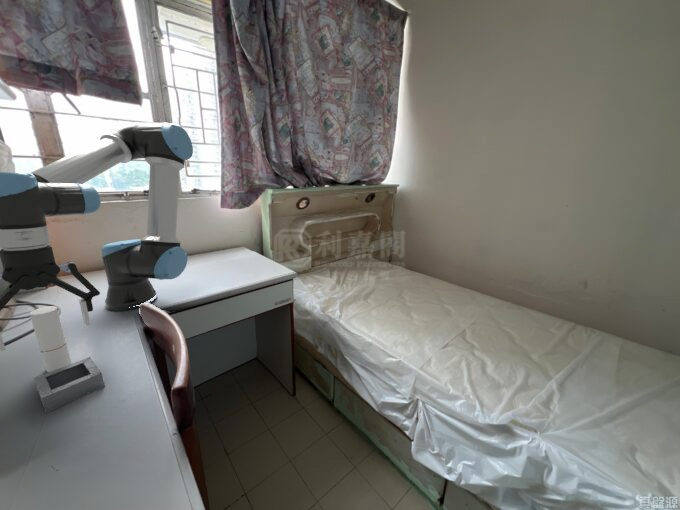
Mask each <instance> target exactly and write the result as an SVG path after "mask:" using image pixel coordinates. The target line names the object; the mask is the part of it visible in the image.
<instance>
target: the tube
mask: <svg viewBox="0 0 680 510" xmlns="http://www.w3.org/2000/svg"><path fill="white" fill-rule="evenodd" d="M59 313H60V312H59V310H58V306H53V305H52V306H51V305H50V306H43V307H40V308H36V309H34V310H31V311H30V312H29V317H30V321H31V324H32V326H33V327H32V328H33V330H34V334H35V336H36V340H37V344H38V347H39V350H40V354H41V359H42V361H43V364H44V368H45V371H46V373H48V372H51V371H54V370H56V369H59V368H62V367H64V366H67V365H70V364H72V359H71V355H70V352H69V351H70V350H69V347H68V344H67V341H66V336H65V333H64V329H63V325H62V322H61V317H60V314H59Z"/></svg>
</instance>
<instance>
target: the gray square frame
mask: <svg viewBox="0 0 680 510" xmlns="http://www.w3.org/2000/svg"><path fill="white" fill-rule="evenodd" d="M33 380H34V383H35V386H36V390H37V393H38V395H39V398H40V401H41V403H42V405H43V408H44V411H45V413H46V414H47V413H49V412H51V411H54V410H57V409H59V408H61V407H63V406H65V405H68V404H69V403H72V402H74V401H76V400H78V399H80V398H82V397H85V396H87V395H90V394H92V393H93V392H95V391H99V390H100V389H102V388H104V387H106V384H105V381H104V378H103V373H102V371H101V370H100V369H99V368H98V366H97V365H96V363H95V362H94V361H93V359H92V358H91V356H89V357H87V358H83V359H81V360H78V361H75V362H72V363H71V364H70V365H67V366H64V367H62V368H59V369H56V370H54V371H51V372H46V373H43V374H41V375H38V376H36V377H33Z"/></svg>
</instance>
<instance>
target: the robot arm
mask: <svg viewBox="0 0 680 510" xmlns="http://www.w3.org/2000/svg"><path fill="white" fill-rule="evenodd" d="M192 142H193V141H192V139H191V138H190V136H189V134H188V132H187V131H186V130H185V129H184V127H182V126H181V125H179V124H177V123H171V122H132V123H129V124H126V125H123V126H121V127H118V128H115V129H113V130H111V131H109V132H107V133H105V134H102V135H101V136H100V138H99V141H96V142H95V143H92V144H90V145H88V146H86V147H83V148H81V149H79V150H77V151H75V152H73V153H70V154H68V155H66V156H64V157H62V158H60V159H57V160H55V161H53V162H51V163H49V164H47V165H45V166H42V167H40V168H38V169H36V170H34V171H31V172H29V173H27V172H10V171H0V262H1V265H2V269H3V270H2V273H0V280H3V281H5V282H6V283H8V284H9V285H8V286H7V287H6V288H5V290H4V291H3V292H2V293H1V295H0V312H1V311H2V310H3V308H5V306H6V305H7V304H8V303H9V302H10V301H11V299H12V298H14V297H15V295H17V294H18V293H19V292H20V291H21V290H25V291H31V290H34V289H36V288H45V287H46V288H47V287H48V286H49V285H51V284H53V285H54V286H56V287H59V288H61V289H62V290H65V291H67V292H68V293H71V294H73V295H75V296H77V297H79V299H78V302H79V303H78V304H79V306H80V307H79V308H80V311H81V312H80V313H81V317H82V320H83V324H84V325H85V326H86V327H89V326H91V319H90V316H89V313H90V312H93V309H94V308H93V302H92V299H93V298H95V297H96V296H97V297H98V296H99V295H101V292H100V290H99V289H97V288H96V287H95V286H94V285H93V284H92V283H91V282H90V281H89V280H87V278H86V277H85V276H84V275H82V274H81V272H80V271H78V267H77V264H75V263H74V261H67V262H66V263H63V264H59V265H58V264H57V263H56V260H55V255H54V250H53V247H52V246H51V245H49V244H50V243H51V238H50V235H49V230H48V226H47V225H48V224H47V219H46V218H47V217H48V218H49V217H59V216H60V217H61V216H73V215H81V216H82V215H85V214H92V213H95V212H97V211H98V210H99V209H100V207H101V197H100V194H99V192H98V191H97V189H96V188H95V187H94V186H92V185H90V184H86V183H87V182H89V181H91V180H92V179H94V178H96V177H97V176H99V175H100V174H103V173H104V172H106V171H108V170H109V169H111V168H113V167H115V166H116V165H119V164H127V163H130V162H131V161H133V160H138V159H144V160H145V162H146V163H147V164H149V180H148V182H149V183H148V184H149V185H148V199H147V200H148V201H147V202H148V203H147V224H146V235H145V236H144V237H142V238H141V239H140V238H139V239H138V238H137V239H136V238H135V239H127V240H121V241H115V242H111V243H107V244H105V245H103V246H102V247H101V254H102V255H101V258H102V262H103V267H104V270H105V276H106V280H107V281H106V282H107V284H108V286H107V293H106V298H105V300H104V303H105V308H106V309H107V310H109V311H113V312H117V311H119V312H121V311H122V312H123V311H129V310H134V309H139V306H136V305H140V304H141V303H144V302H146V301H148V300H150V299H151V298H153V297H154V296H155V295H156V294H157V292H156V290H155V288H154V286H153V285H152V282H151V281H150V279H157V280H159V281H160V280H162V281H163V280H173V279H177V278H178V277H180V275H182V273H183V272H184V271H185V269H186V267H187V264H188V254H187V252H186V249H184V248H183V247H181V244H182V243H181V241H180V240H179V239H178V237H177V224H178V223H177V222H178V221H177V220H178V204H179V203H178V202H179V198H178V197H179V185H180V184H179V181H180V171H181V170H182V169H184V168H185V161H188V160H190V159H191V157H192V156H193V153H194V145H193V143H192ZM61 271H64V272H66V273H69V274H71V275H72V276H73V277H74V278H75V279H76V280H77V281H78V282H79V283H81V284H82V285H83V287H85V289H86V290H87V291H88V292H85V291H83V290H81V289H80V288H78V287H75V286H73V285H72V284H70V283H67V281H64V280H62V279H60V278H58V275H59V273H60V272H61ZM150 302H151V301H150ZM133 306H135V307H133ZM129 307H130V308H129ZM6 350H7V349H6V346H5V343H4V339H3V335H2V333H1V331H0V352H3V351H6Z"/></svg>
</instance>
